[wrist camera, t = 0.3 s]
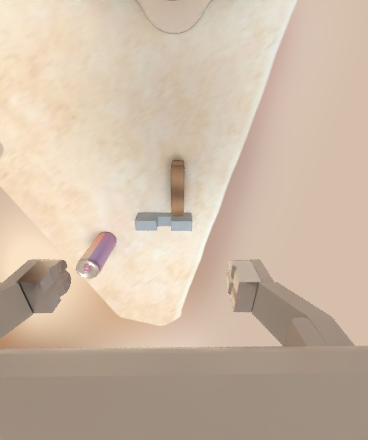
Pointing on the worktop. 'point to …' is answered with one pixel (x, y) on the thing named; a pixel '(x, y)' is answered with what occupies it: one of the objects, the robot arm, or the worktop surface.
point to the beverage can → (96, 256)
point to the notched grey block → (163, 221)
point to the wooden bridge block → (177, 188)
